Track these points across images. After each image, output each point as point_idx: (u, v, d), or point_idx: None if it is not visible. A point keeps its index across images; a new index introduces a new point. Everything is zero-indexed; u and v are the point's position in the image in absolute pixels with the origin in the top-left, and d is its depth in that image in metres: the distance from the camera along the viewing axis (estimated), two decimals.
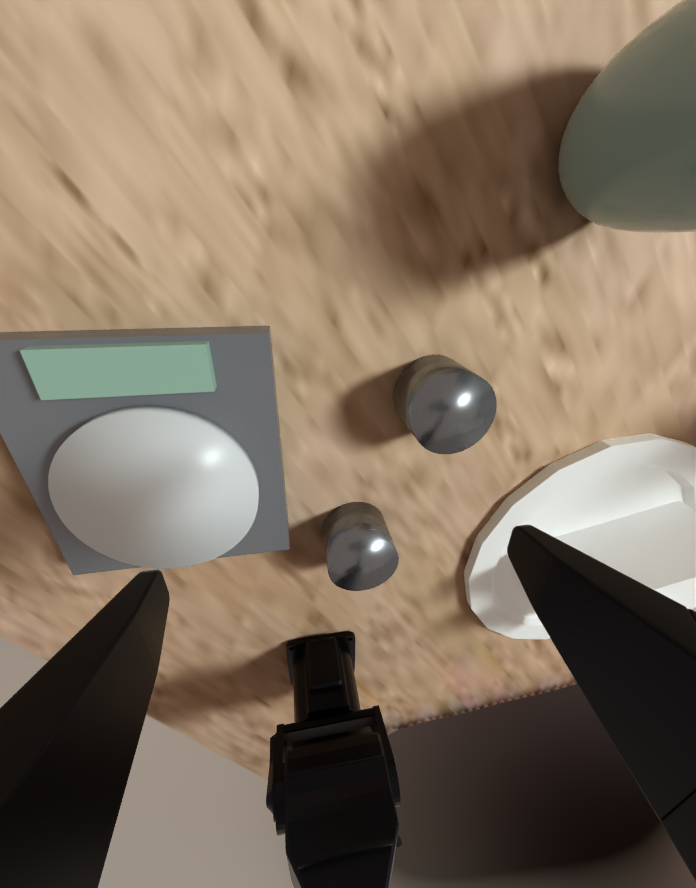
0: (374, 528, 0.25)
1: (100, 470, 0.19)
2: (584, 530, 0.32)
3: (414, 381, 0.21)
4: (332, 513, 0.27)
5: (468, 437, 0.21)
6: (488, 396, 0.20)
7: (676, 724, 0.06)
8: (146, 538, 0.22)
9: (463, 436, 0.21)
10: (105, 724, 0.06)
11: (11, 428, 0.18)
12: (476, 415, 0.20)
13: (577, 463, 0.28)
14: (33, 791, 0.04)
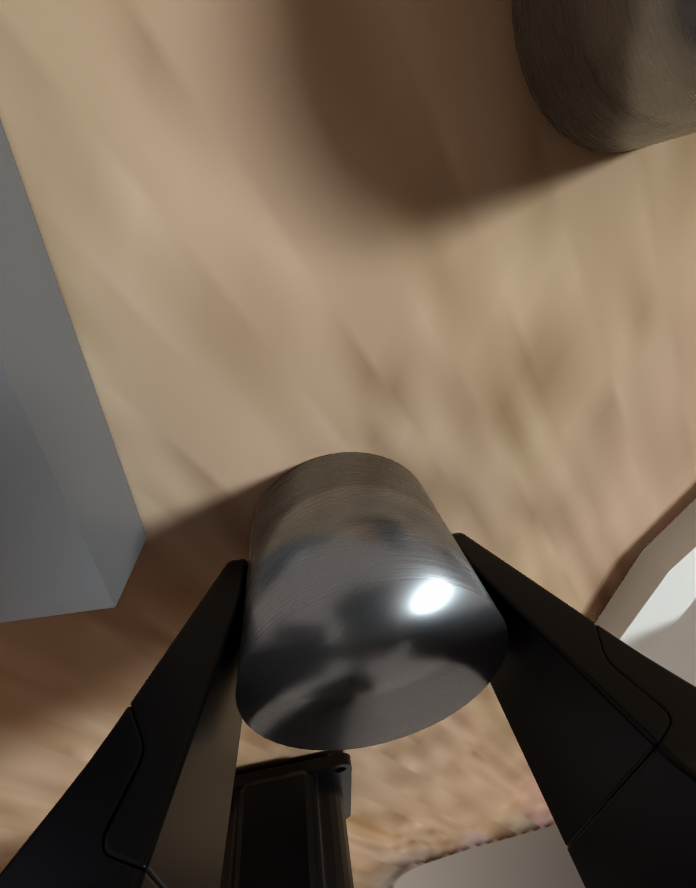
0: (419, 537, 0.06)
1: None
2: None
3: None
4: (276, 488, 0.08)
5: None
6: None
7: (578, 747, 0.06)
8: None
9: None
10: (227, 702, 0.06)
11: None
12: None
13: None
14: (194, 759, 0.05)
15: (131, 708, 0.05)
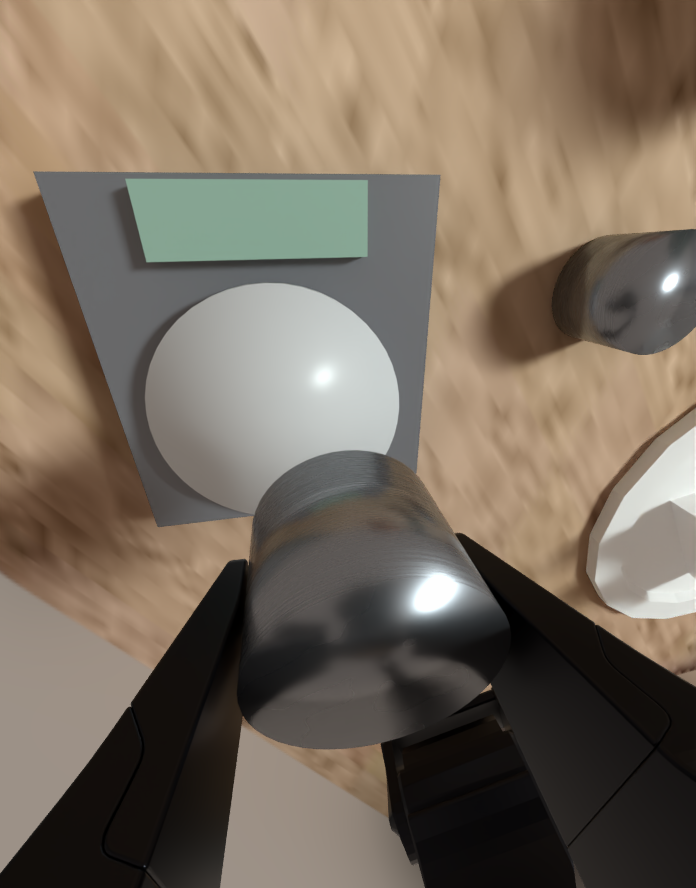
0: (422, 535, 0.06)
1: (212, 371, 0.14)
2: None
3: (605, 257, 0.16)
4: (277, 486, 0.08)
5: (675, 330, 0.16)
6: None
7: (578, 748, 0.06)
8: (255, 473, 0.17)
9: (670, 328, 0.16)
10: (226, 702, 0.06)
11: (100, 313, 0.14)
12: (693, 297, 0.16)
13: None
14: (194, 759, 0.05)
15: (131, 708, 0.05)
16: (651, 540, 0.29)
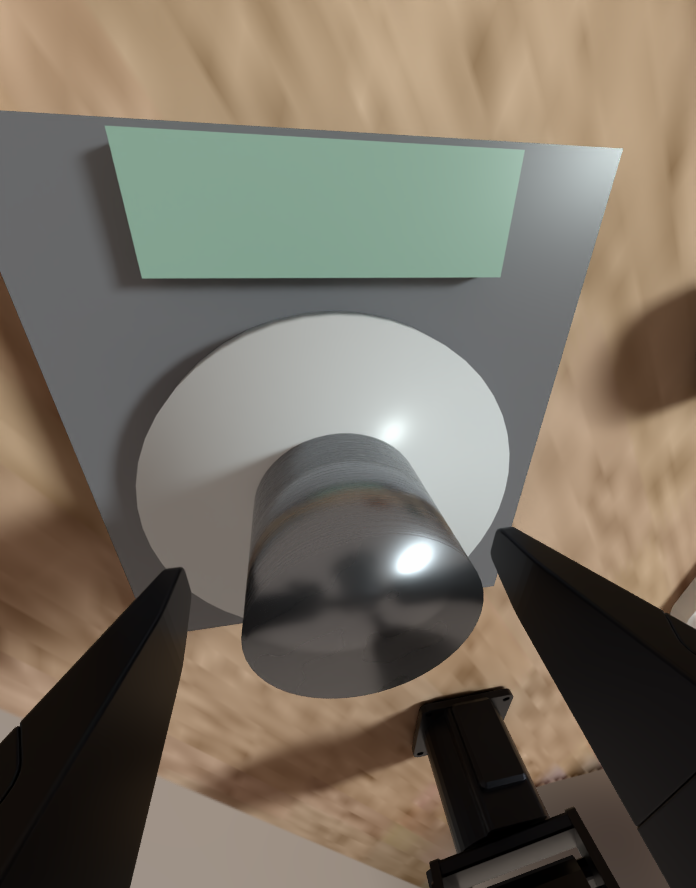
0: (404, 502, 0.07)
1: (243, 448, 0.09)
2: None
3: None
4: (277, 465, 0.09)
5: None
6: None
7: (651, 731, 0.06)
8: None
9: None
10: (138, 718, 0.06)
11: (64, 355, 0.08)
12: None
13: None
14: (77, 782, 0.05)
15: (18, 728, 0.05)
16: None
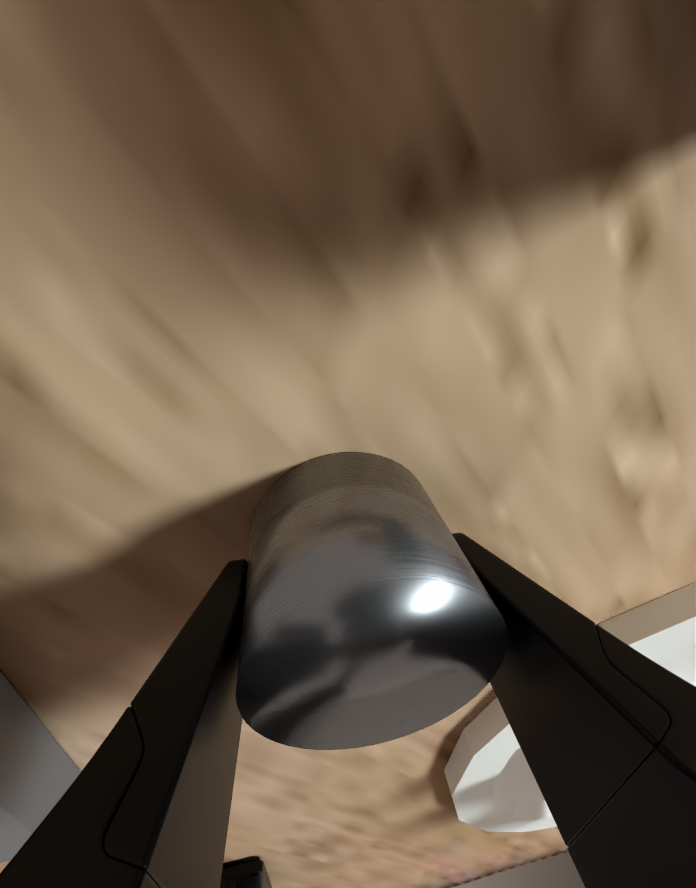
0: None
1: None
2: None
3: (263, 556, 0.07)
4: None
5: (426, 710, 0.07)
6: (483, 626, 0.06)
7: (578, 747, 0.06)
8: None
9: (412, 709, 0.07)
10: (227, 702, 0.06)
11: None
12: (447, 668, 0.07)
13: (659, 633, 0.14)
14: (194, 759, 0.05)
15: (131, 708, 0.05)
16: None
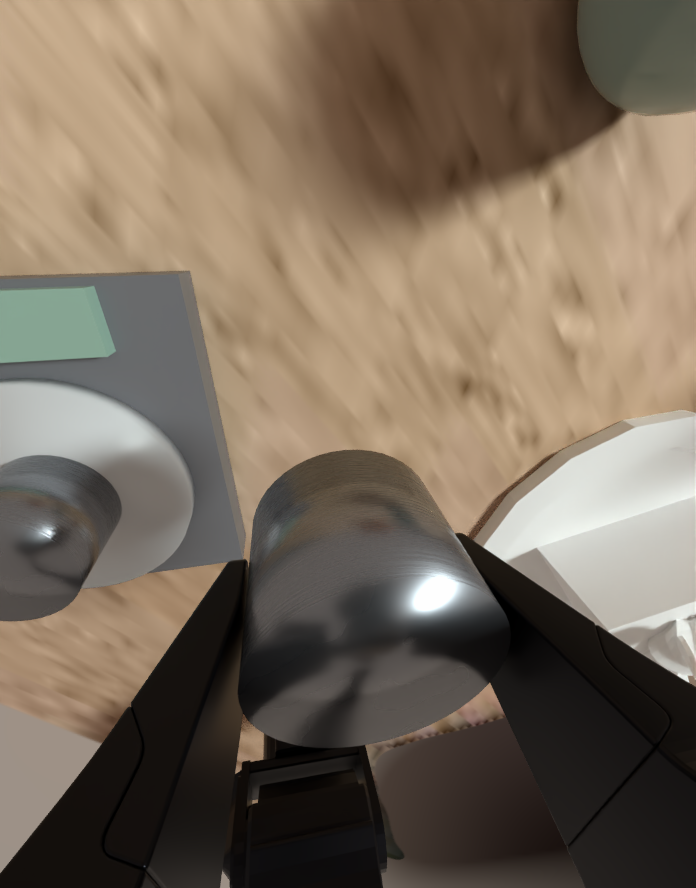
0: (14, 500, 0.12)
1: None
2: (603, 528, 0.27)
3: (265, 553, 0.07)
4: None
5: (428, 708, 0.07)
6: (486, 623, 0.06)
7: (577, 748, 0.06)
8: None
9: (414, 708, 0.07)
10: (226, 702, 0.06)
11: None
12: (449, 665, 0.07)
13: (594, 449, 0.23)
14: (194, 759, 0.05)
15: (131, 708, 0.05)
16: None
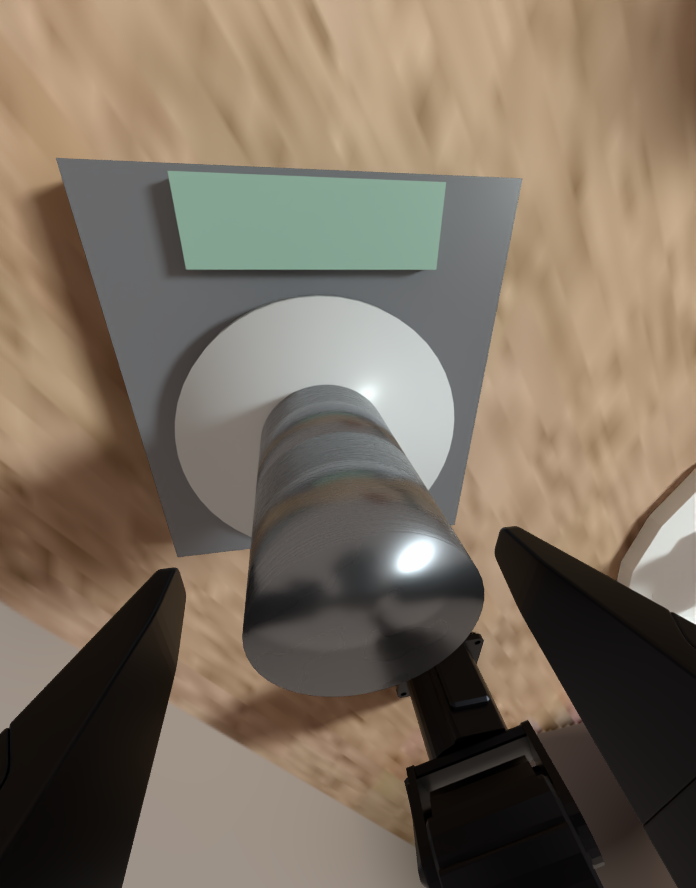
0: (364, 420, 0.11)
1: (253, 394, 0.13)
2: None
3: (266, 520, 0.08)
4: (278, 406, 0.13)
5: (412, 660, 0.08)
6: (461, 579, 0.07)
7: (657, 729, 0.06)
8: None
9: (400, 659, 0.08)
10: (129, 720, 0.06)
11: (126, 325, 0.12)
12: (430, 619, 0.08)
13: None
14: (66, 785, 0.04)
15: (8, 730, 0.05)
16: (683, 566, 0.28)
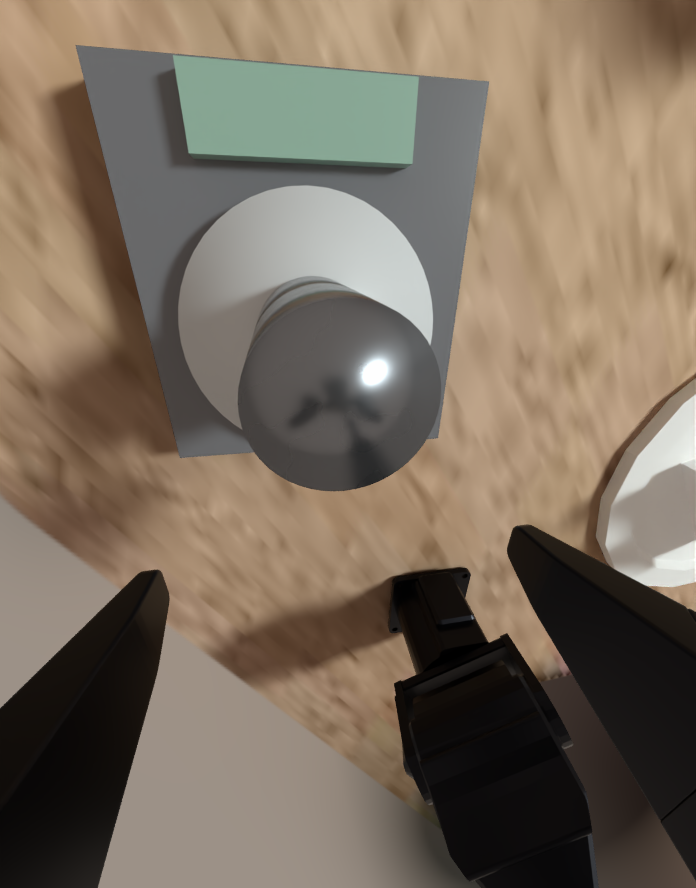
0: None
1: (248, 281, 0.14)
2: None
3: (258, 330, 0.09)
4: (272, 293, 0.14)
5: (384, 455, 0.10)
6: (419, 360, 0.08)
7: (676, 724, 0.06)
8: None
9: (372, 452, 0.09)
10: (104, 724, 0.06)
11: (135, 213, 0.13)
12: (396, 405, 0.09)
13: None
14: (33, 791, 0.04)
15: None
16: (661, 504, 0.29)
